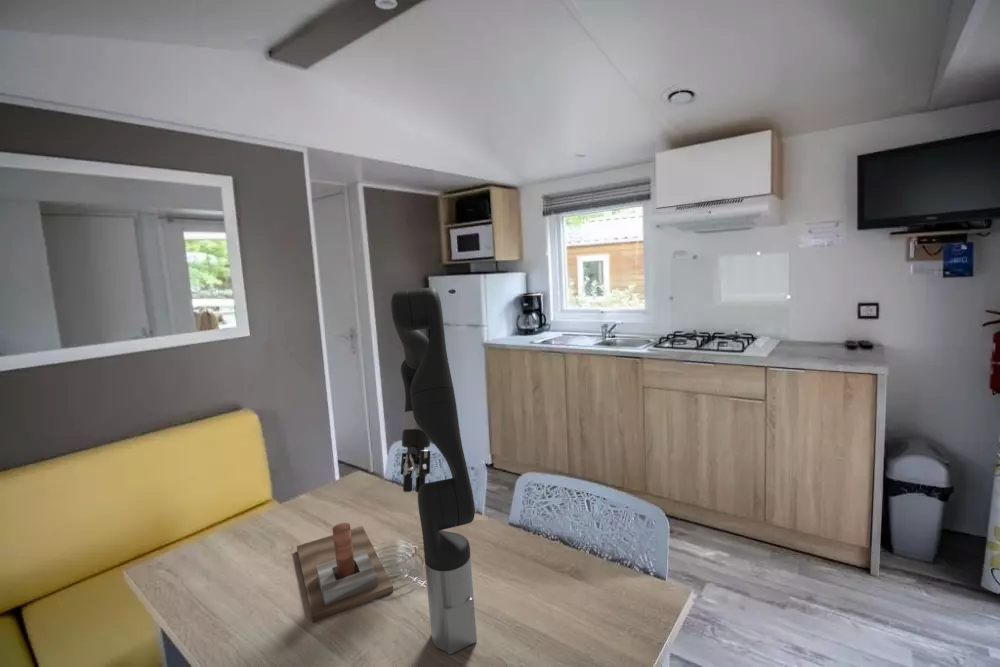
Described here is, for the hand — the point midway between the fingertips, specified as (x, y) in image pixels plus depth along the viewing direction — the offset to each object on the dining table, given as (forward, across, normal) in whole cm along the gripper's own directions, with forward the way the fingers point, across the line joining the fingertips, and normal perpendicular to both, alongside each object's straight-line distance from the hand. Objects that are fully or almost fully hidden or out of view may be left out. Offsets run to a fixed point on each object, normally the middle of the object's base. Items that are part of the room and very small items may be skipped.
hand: (413, 492), depth 123 cm
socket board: (+19, -13, -13) cm, 27 cm away
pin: (+20, -5, -14) cm, 25 cm away
